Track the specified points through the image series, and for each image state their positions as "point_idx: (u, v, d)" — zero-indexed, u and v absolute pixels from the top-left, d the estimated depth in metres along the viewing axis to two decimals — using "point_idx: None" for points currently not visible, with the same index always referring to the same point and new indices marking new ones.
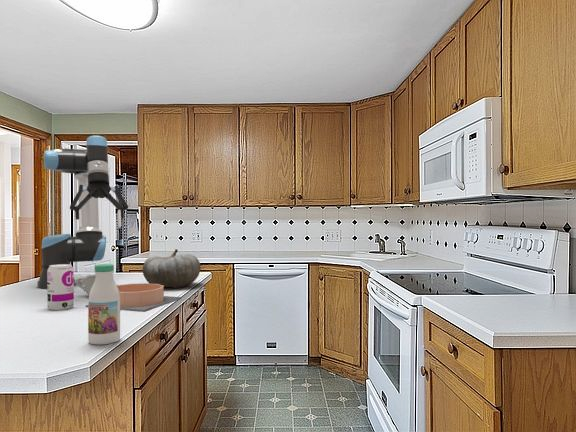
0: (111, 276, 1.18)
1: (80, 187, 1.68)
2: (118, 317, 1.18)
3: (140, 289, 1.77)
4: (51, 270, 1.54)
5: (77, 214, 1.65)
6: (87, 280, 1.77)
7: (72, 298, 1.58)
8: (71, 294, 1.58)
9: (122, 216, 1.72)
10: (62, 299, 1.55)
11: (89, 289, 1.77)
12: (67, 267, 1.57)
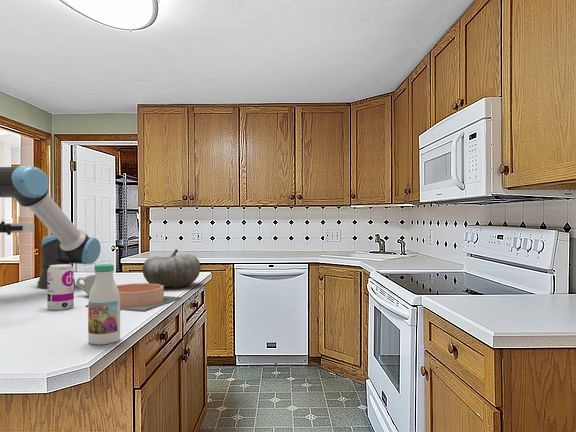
0: (111, 276, 1.18)
1: None
2: (118, 317, 1.18)
3: (140, 289, 1.77)
4: (51, 270, 1.54)
5: None
6: (87, 280, 1.77)
7: (72, 298, 1.58)
8: (71, 294, 1.58)
9: None
10: (62, 299, 1.55)
11: (89, 289, 1.77)
12: (67, 267, 1.57)
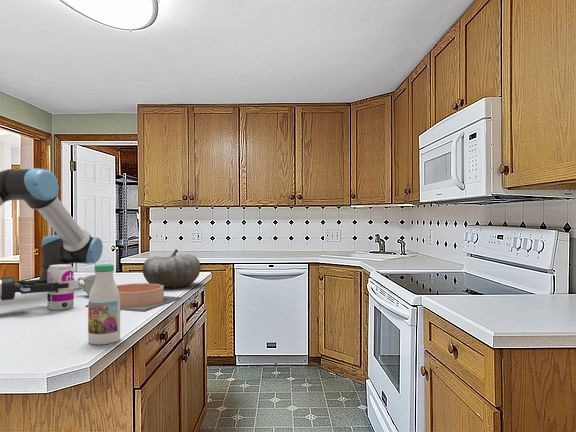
0: (111, 276, 1.18)
1: None
2: (118, 317, 1.18)
3: (140, 289, 1.77)
4: (51, 270, 1.54)
5: None
6: (87, 280, 1.77)
7: (72, 298, 1.58)
8: (71, 294, 1.58)
9: (66, 287, 1.54)
10: (62, 299, 1.55)
11: (89, 289, 1.77)
12: (67, 267, 1.56)
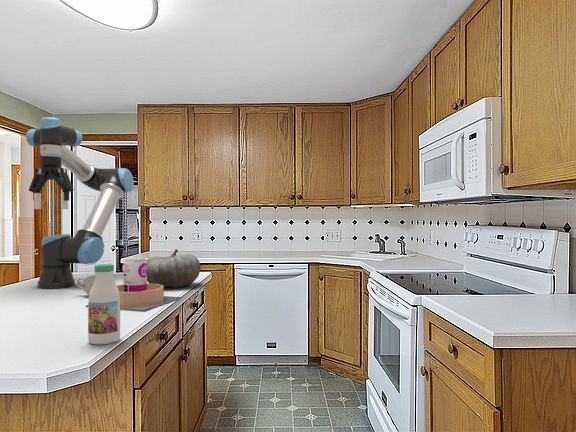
0: (111, 276, 1.18)
1: (35, 171, 1.84)
2: (118, 317, 1.18)
3: None
4: (128, 262, 1.64)
5: None
6: (87, 280, 1.77)
7: (146, 289, 1.68)
8: (145, 285, 1.67)
9: (65, 198, 1.80)
10: (138, 289, 1.65)
11: (89, 289, 1.77)
12: (142, 259, 1.66)
